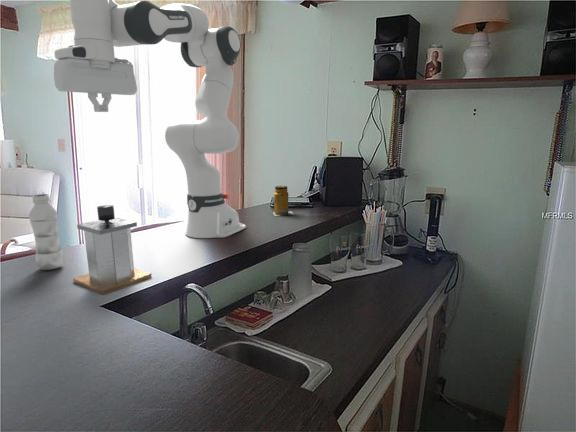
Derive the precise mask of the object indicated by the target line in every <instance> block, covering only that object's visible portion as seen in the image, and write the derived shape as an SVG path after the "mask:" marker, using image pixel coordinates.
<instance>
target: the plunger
mask: <svg viewBox="0 0 576 432" xmlns="http://www.w3.org/2000/svg"><path fill="white" fill-rule="evenodd" d="M96 207H97V208H96V209H97V210H96V211H97V219H98V220H101V221H105V225H108V224H109V220H112V219H115V208H114V205H112V204H104V205H99V206H96Z"/></svg>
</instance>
